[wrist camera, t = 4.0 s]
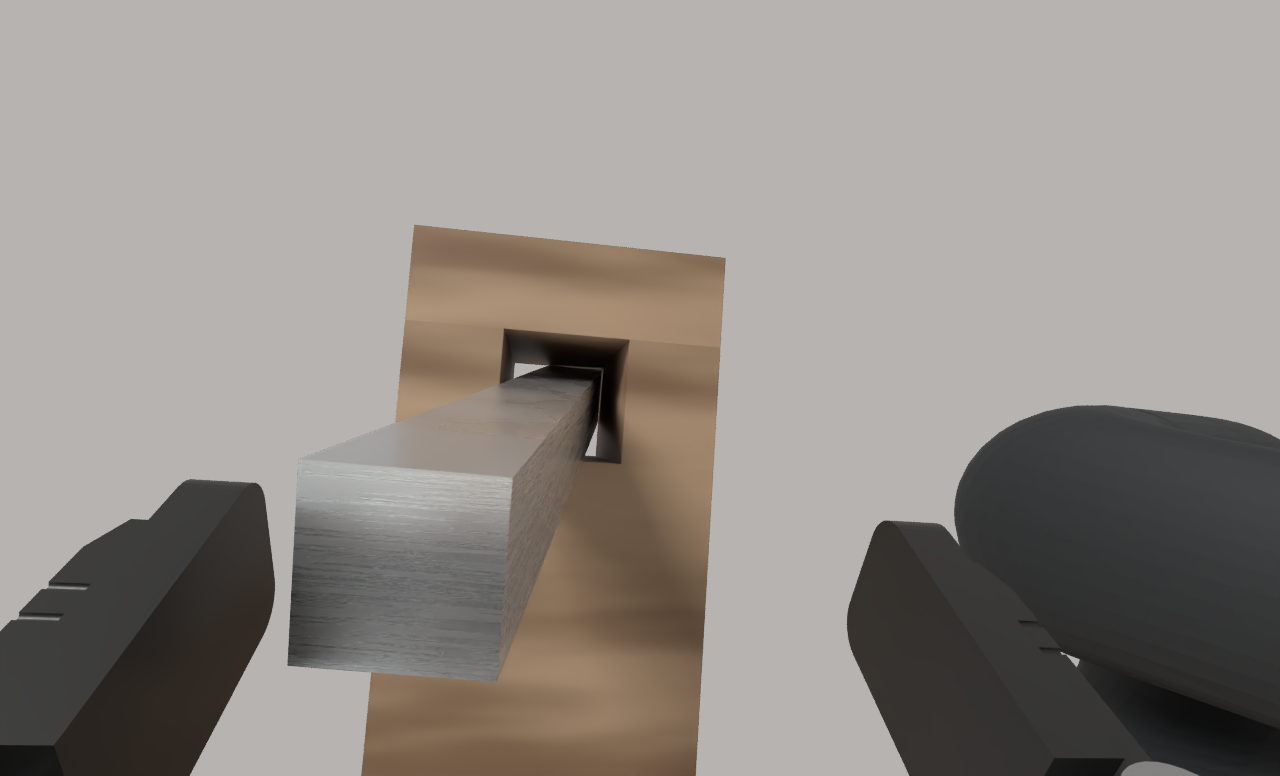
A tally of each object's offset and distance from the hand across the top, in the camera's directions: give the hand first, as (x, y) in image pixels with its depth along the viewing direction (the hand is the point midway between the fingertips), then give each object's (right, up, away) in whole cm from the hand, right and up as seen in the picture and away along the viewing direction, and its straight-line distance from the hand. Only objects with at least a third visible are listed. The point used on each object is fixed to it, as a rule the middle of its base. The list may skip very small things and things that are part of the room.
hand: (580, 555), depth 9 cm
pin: (-2, 0, +11) cm, 11 cm away
